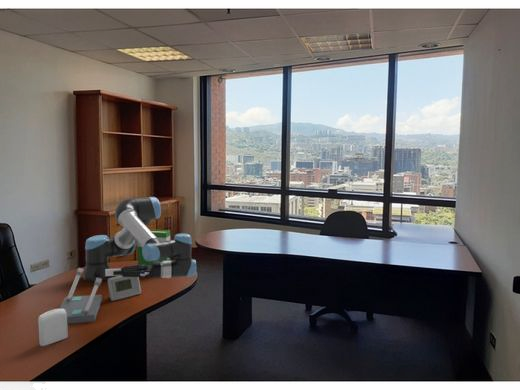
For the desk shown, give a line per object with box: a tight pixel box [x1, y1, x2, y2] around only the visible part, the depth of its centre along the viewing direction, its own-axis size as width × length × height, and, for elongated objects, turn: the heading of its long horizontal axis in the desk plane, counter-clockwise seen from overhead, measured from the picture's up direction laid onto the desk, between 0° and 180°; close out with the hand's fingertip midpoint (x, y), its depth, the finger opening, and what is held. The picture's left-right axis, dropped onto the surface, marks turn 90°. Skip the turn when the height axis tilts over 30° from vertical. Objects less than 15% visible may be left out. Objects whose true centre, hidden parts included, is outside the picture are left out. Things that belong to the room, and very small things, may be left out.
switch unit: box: [58, 294, 103, 324], centre depth 187 cm, size 16×24×3 cm, turn 14°
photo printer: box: [37, 308, 69, 347], centre depth 159 cm, size 10×4×12 cm, turn 140°
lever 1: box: [66, 267, 85, 302], centre depth 193 cm, size 2×5×15 cm, turn 15°
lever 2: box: [84, 277, 102, 314], centre depth 180 cm, size 2×5×15 cm, turn 15°
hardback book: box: [136, 228, 171, 266], centre depth 249 cm, size 18×7×24 cm, turn 84°
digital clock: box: [107, 275, 142, 302], centre depth 206 cm, size 16×9×11 cm, turn 123°
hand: (105, 272), depth 179 cm, fingers closed
